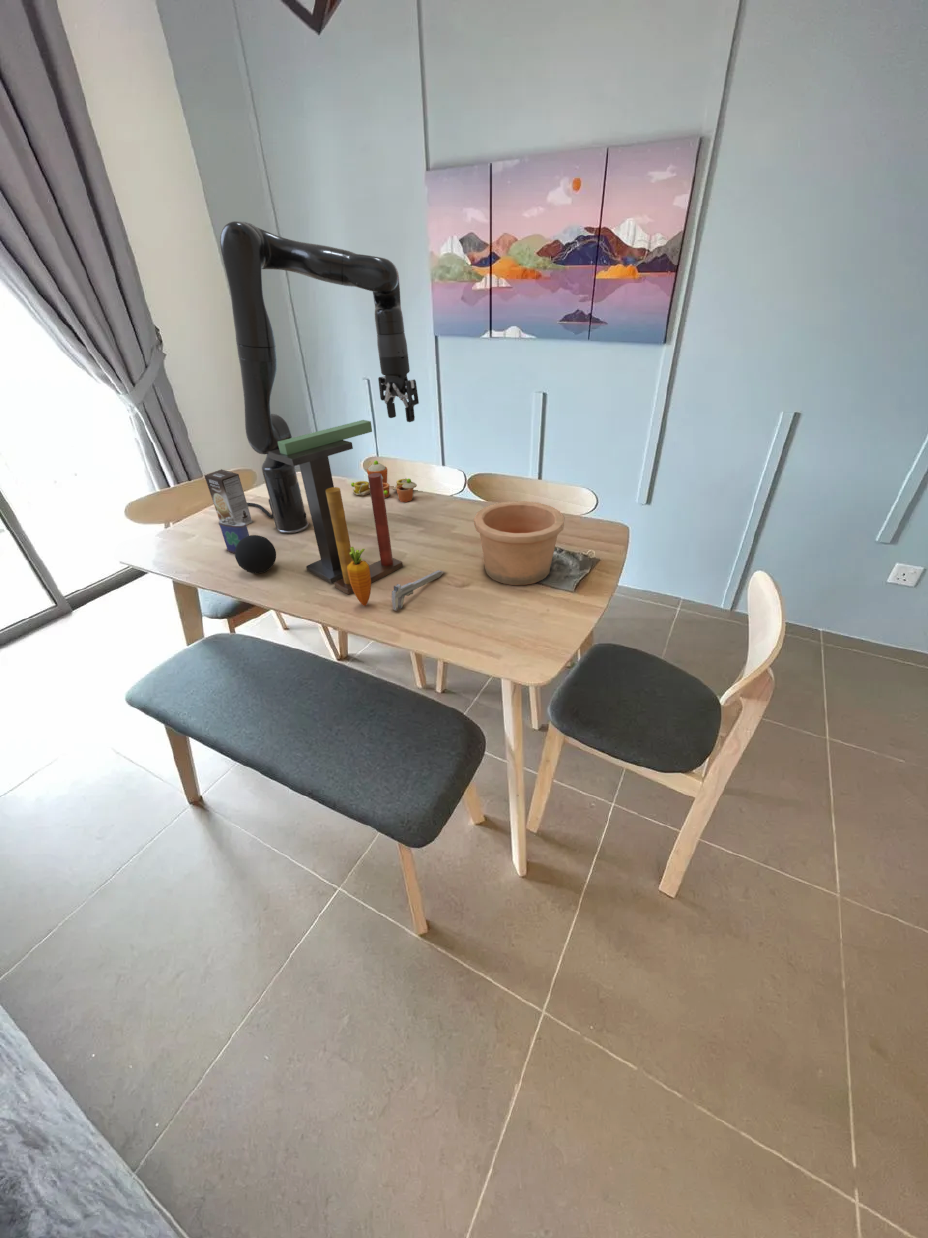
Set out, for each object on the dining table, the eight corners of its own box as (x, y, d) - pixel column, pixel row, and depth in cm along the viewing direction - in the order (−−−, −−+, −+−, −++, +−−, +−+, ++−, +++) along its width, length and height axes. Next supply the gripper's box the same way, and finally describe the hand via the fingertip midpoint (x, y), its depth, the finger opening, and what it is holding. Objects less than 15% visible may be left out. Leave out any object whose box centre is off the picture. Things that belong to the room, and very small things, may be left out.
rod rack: (389, 560, 134) (376, 469, 120) (403, 566, 131) (391, 473, 117) (335, 587, 123) (314, 490, 109) (348, 594, 120) (328, 496, 106)
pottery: (503, 600, 115) (504, 544, 107) (460, 562, 132) (458, 511, 124) (577, 576, 123) (583, 523, 115) (528, 543, 140) (530, 494, 131)
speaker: (236, 570, 133) (224, 536, 127) (272, 558, 138) (263, 525, 132) (248, 584, 126) (236, 549, 120) (285, 571, 131) (276, 537, 125)
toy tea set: (347, 495, 177) (342, 468, 171) (372, 481, 188) (368, 455, 182) (408, 505, 166) (405, 477, 161) (431, 490, 178) (429, 463, 172)
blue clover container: (256, 551, 142) (245, 516, 136) (249, 556, 139) (238, 520, 133) (231, 547, 145) (220, 513, 139) (224, 551, 142) (212, 517, 136)
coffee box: (219, 523, 159) (202, 474, 150) (236, 516, 164) (220, 468, 155) (237, 529, 155) (221, 479, 146) (253, 522, 160) (239, 473, 151)
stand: (348, 552, 139) (325, 435, 121) (372, 563, 133) (353, 442, 115) (298, 574, 129) (266, 451, 111) (323, 587, 123) (293, 459, 105)
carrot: (355, 600, 118) (344, 543, 109) (376, 599, 118) (366, 542, 110) (353, 612, 114) (341, 554, 105) (374, 610, 114) (364, 552, 105)
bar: (364, 430, 124) (363, 419, 123) (372, 431, 122) (370, 421, 121) (280, 453, 110) (277, 441, 108) (287, 455, 108) (284, 443, 106)
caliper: (396, 612, 113) (393, 589, 109) (393, 611, 113) (389, 588, 110) (444, 573, 127) (442, 551, 124) (440, 572, 128) (439, 550, 124)
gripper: (365, 354, 130) (375, 418, 139) (397, 356, 121) (406, 425, 130) (389, 350, 134) (397, 413, 143) (421, 352, 125) (428, 420, 134)
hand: (401, 419), depth 136 cm, fingers open, 8 cm apart
